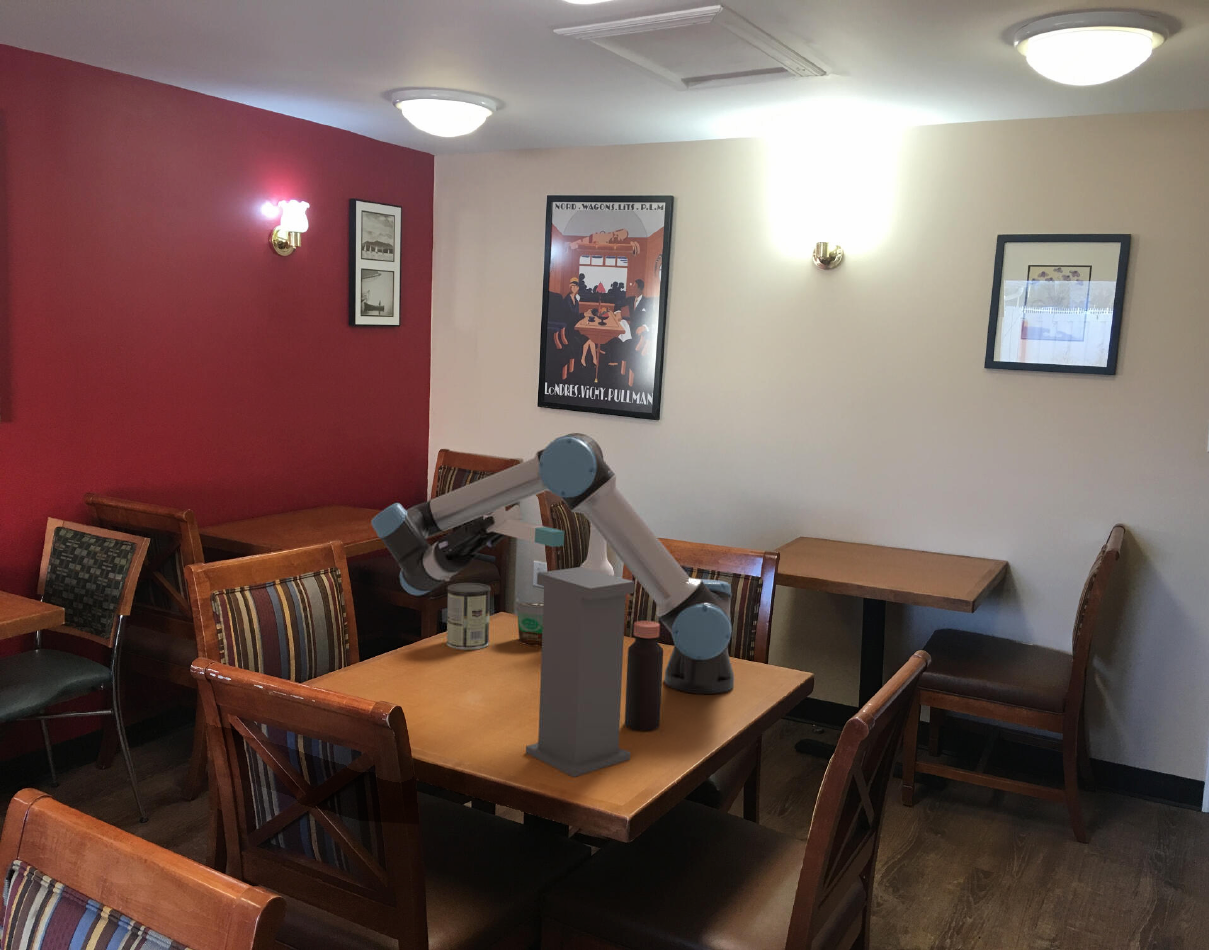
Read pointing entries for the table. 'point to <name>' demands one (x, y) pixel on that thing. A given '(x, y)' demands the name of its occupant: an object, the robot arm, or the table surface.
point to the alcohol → (597, 554)
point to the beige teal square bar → (531, 532)
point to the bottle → (644, 678)
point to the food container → (530, 622)
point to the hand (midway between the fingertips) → (511, 512)
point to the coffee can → (468, 616)
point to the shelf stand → (581, 670)
